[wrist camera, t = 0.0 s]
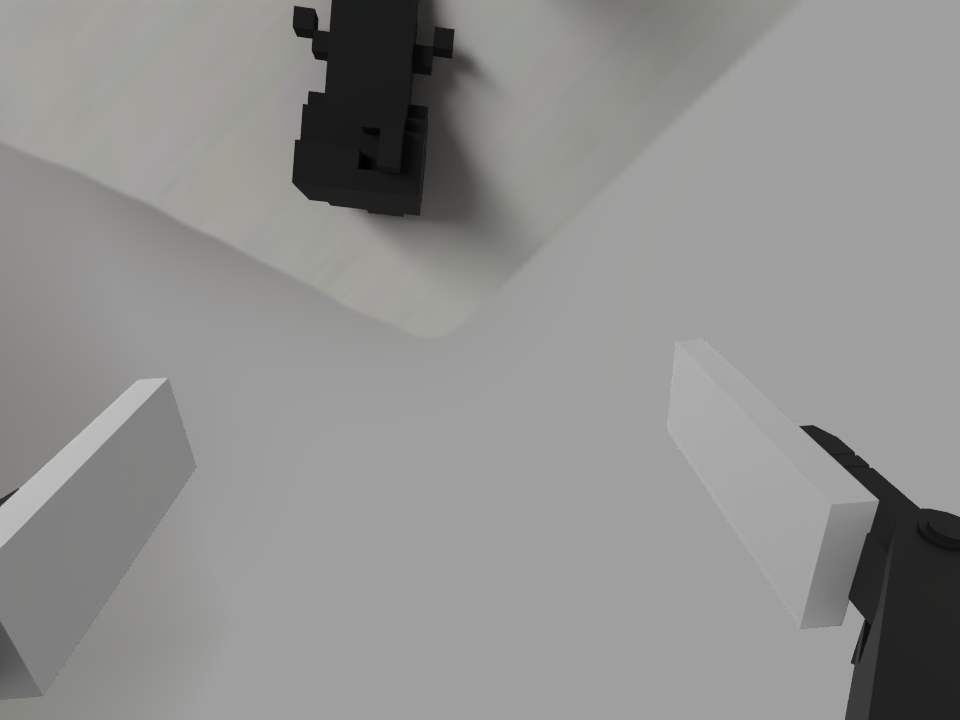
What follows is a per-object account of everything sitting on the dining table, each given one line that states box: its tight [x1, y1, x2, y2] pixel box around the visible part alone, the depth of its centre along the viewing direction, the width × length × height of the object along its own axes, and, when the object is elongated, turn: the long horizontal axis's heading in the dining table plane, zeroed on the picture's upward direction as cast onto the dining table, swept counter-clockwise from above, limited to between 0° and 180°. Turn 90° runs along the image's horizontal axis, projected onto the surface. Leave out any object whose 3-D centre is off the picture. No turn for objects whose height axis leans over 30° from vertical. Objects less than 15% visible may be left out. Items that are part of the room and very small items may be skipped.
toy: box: [292, 0, 454, 217], centre depth 34 cm, size 9×8×15 cm
